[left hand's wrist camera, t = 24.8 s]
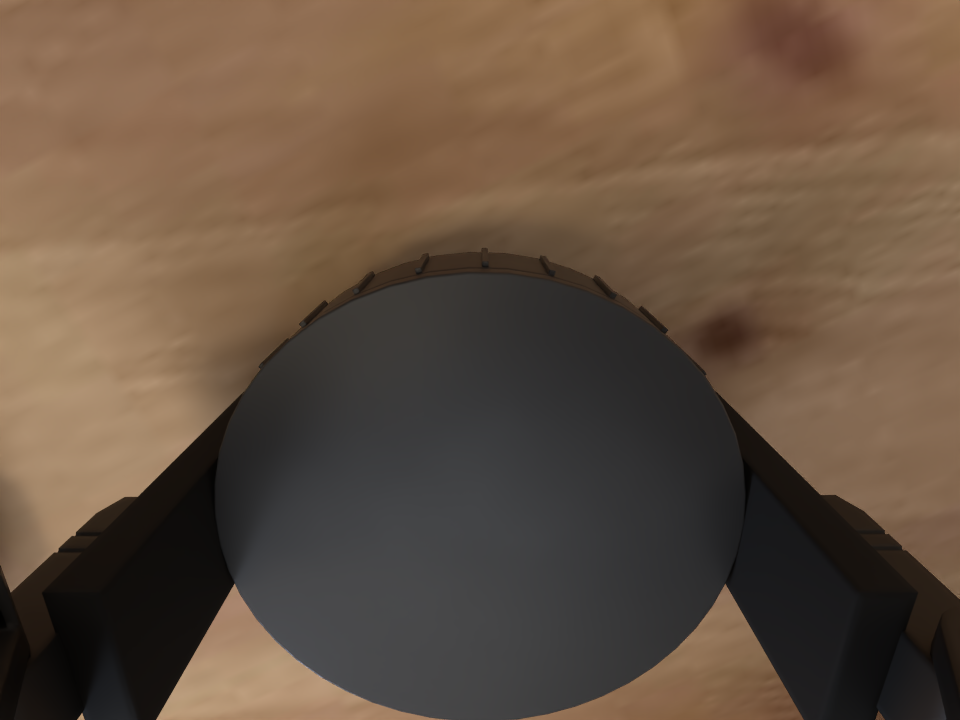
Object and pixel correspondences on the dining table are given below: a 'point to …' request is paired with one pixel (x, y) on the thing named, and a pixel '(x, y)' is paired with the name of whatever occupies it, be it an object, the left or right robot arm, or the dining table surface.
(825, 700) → the left robot arm
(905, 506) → the dining table surface
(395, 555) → the lid
